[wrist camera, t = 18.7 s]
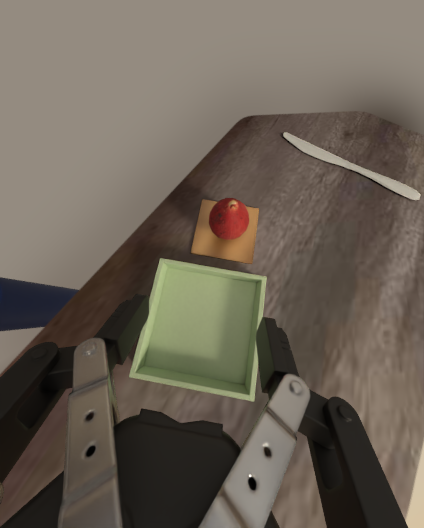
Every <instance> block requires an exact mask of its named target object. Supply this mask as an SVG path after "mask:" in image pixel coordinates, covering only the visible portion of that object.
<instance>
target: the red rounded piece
mask: <svg viewBox="0 0 424 528" xmlns="http://www.w3.org/2000/svg"><path fill="white" fill-rule="evenodd" d="M209 225H210V228H211V230H212V232H213V233H214V234H215V235H216V236H217V237H218V238H222V239H225V240H233V239H235V238H238V237H240V236H241V235H242V234H243V233H244V232H245V231H246V230H247V227H248V225H249V213H248V210H247V208H246V206H245V205H244V204H243V203H242V202H240V201H239V200H236V199H234V198H225V199H222V200H220V201H219V202H217V203H216V204H215V205H214V206H213V208H212V210H211V211H210V214H209Z"/></svg>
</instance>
